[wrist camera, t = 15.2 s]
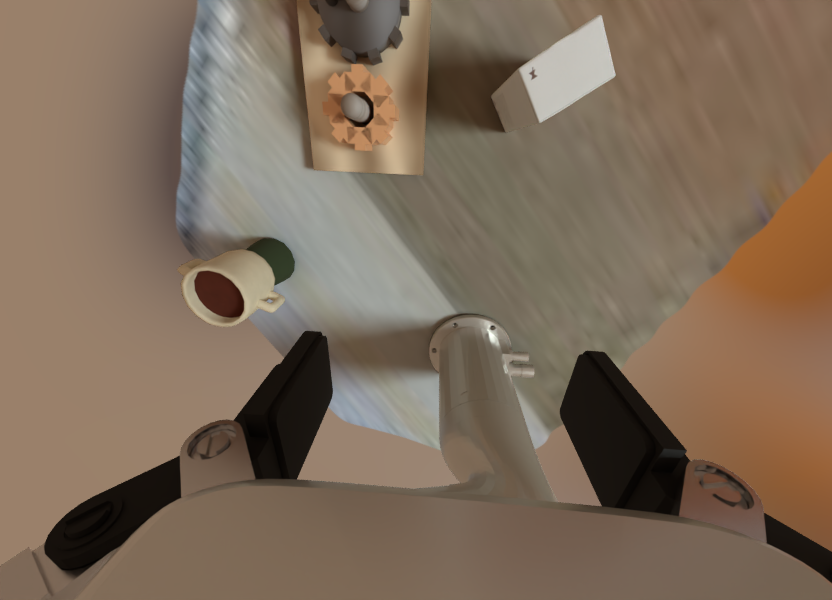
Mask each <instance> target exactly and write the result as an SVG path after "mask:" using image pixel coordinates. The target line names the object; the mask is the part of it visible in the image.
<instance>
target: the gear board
mask: <svg viewBox="0 0 832 600" xmlns="http://www.w3.org/2000/svg"><path fill="white" fill-rule="evenodd" d="M431 2H432V0H296V4H297V13H298V23H299V33H300V42H301V52H302V61H303V71H304V81H305V90H306V100H307V110H308V119H309V129H310V138H311V148H312V158H313V167H314V170H324V171H345V172H366V173H387V174H408V175H423V173H424V151H425V130H426V109H427V87H428V66H429V44H430V23H431ZM351 64H363V65H364V66H365V67H366V69H367V70H368V71H369V72H370V73H371V74H372V75H373V76H374V78H375V79H376V78H377V77H378V76H379V75H380V74H381V76H382V77H383V78H384V80H385V81H386V82H387V83H388V85H389V86H390V87H391V89H392V90H393V92H392V93H391V94H390V95H389V96H390V97H391V99H392V100H393V101H394V105H396V106H397V107H398V109H399V121H394V128H393V129H392V130H391V132H390V133H389V134H390V135H391V136H392V137H393V138H392V139H391V140H390V141H389V142H388V143H387V144H386V145H382V144H379V145H372V151H361V150H355V144H349V143H341V142H339V141H338V140H337V139H336V138H335V137H334V136H333V135H332V134H331V133H332V132H333V130H334V129H335V128H334V127H333V126H332V125H331V124H330V119H329V116H326V115H323V105H322V102H328V92H329V91H330V90H331V88H332V87H331V85H330V84H329V83H328V80H329V79H330V78H331V76H332V75H333V74H334V73H337V74H338V75H339V76H340V77H341V75H342V74H343V73H344V72H352V71H351ZM341 110H342V112H343V114H344V115H345V116H346V117H348V118H350V119H352V120H354V122H355V123H356V124H357V125H358V126H359V127H366V126H367V125H368V124H369V123H370V122H371V120H372V119H373V118H374V103H373V101H372V100H371V99H370V98H368V97H359V96H358V95H356V94H354V93H347V94H345V95H344V96H343V97H342V100H341Z"/></svg>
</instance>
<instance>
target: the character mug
mask: <svg viewBox="0 0 832 600" xmlns="http://www.w3.org/2000/svg"><path fill="white" fill-rule="evenodd" d="M294 263H295V261H294V258H293V256H292V253H291V251H290V250H289V249H288V248H287V246H286V245H285V244H284V243H282V242H280V241H278V240H276V239H262V240H260V241H258V242H256V243H254V244H253V245H251V246H250V247H249V248H247V249H246V250H244V249H240V250H233V251H227V252H225V253H223V254H221V255H219V256H217V257H215V258H213V259H210V260H208V261H204V260H201V259H194V260H191V261H189V262H187V263H185V264H182V265H181V266H180V267H179V268H178V269H177V270H178V272H179V273H180V274H182V275H184V277H183V279H182V282H181V290H182V296H183V298H184V300H185V302H186V304H187V306H188V307H189V308H190V309H191V311H192V312H193V313H194V314H195V315H196V316H197V317H199V318H200V319H202V320H203V321H205V322H207V323H208V324H211V325H214V326H219V327H230V326H235V325H236V324H238V323H240V322H241V321H243V320H245V319H246V318H248V317H249V316H250V315H251V314H253V313H254V312H255V311H256V310H257V309H258V308H260V309H262V310H264V311H267V312H270V313H272V312H275V311H276V310H277V309H278V308H279V307H280V306H281V305H282V304H283V303H284V302H285V298H284V297H283V296H282V295H280V294H278V293H275V292H273V290H274V286H275V285H277V284H279V283H281V282H283V281H284V280H286V279H288V278H289V277H290V276H291V275H292V273H293V271H294ZM268 299H271V300H273V302H272V303H268V302H266V301H267V300H268Z"/></svg>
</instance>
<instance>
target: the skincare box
mask: <svg viewBox="0 0 832 600" xmlns="http://www.w3.org/2000/svg"><path fill="white" fill-rule="evenodd" d="M614 77H615V71H614V67H613V63H612V58H611V54H610V50H609V46H608V41H607V37H606V33H605V29H604V24H603V20H602V16H601V15H598V16H596V17H594V18H593V19H591V20H590V21H588V22H587V23H585V24H584V25H582V26H581V27H579V28H578V29H576V30H575V31H573V32H572V33H570V34H569V35H567V36H566V37H564V38H562V39H561V40H559V41H557V42H556V43H555V44H553V45H552V46H551V47H549V48H547V49H546V50H544V51H543V52H541V53H540V54H539V55H537V56H536V57H534V58H533V59H531V60H530V61H528V62H527V63H525V64H524V65H523V66H521V67H520V68H518V69H517V70H516V71H515V72H514V73H513V74H512V75H511V76H510V77H509V78H508V79H507V80H506V81H505V82H504V83H503V84H502V85H501V86H500V87H499V88H498V89H497V90H496V91H495V92H494V93H493V94H492V95H491V98H492V100H493V103H494V105H495V108H496V111H497V113H498V115H499V118H500V120H501V123H502V125H503V127H504V130H505V132H506V133H507V132H511V131H514V130H518V129H521V128H525V127H528V126H532V125H535V124H539V123H541V122H543V121H544V120H546V119H548V118H550V117H551V116H553V115H555V114H556V113H558V112H560V111H561V110H563V109H565V108H566V107H568V106H569V105H571V104H572V103H574V102H575V101H577V100H578V99H580V98H582V97H583V96H585V95H586V94H588V93H590V92H591V91H593V90H594V89H596V88H598V87H599V86H601V85H602V84H604V83H606V82H607V81H609V80H610V79H612V78H614Z"/></svg>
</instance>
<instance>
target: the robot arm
mask: <svg viewBox="0 0 832 600" xmlns="http://www.w3.org/2000/svg"><path fill="white" fill-rule="evenodd" d="M492 325H493V326H492ZM429 356H430V361H431V363H432V365H433V367H434V368H435V369H436V371H437V372H438V373H439V440H440V448H441V452H442V455H443V457H444V460H445V462H446V464H447V466H448V467H449V469H450V470H451V472H452V473H453V474H454V476H455V477H456V479H457V480H458V481H459V482H460V483H459V484H452V485H449V486H439V487H428V488H417V489H410V488H399V487H387V486H376V485H364V484H352V483H340V482H325V481H311V480H297V478H298V475H299V473H300V471H301V468H302V466H303V464H304V461H305V459H306V457H307V454H308V452H309V450H310V448H311V445H312V443H313V441H314V438H315V436H316V434H317V431H318V429H319V427H320V424H321V422H322V420H323V417H324V415H325V413H326V411H327V408H328V406H329V404H330V401H331V399H332V394H333V388H332V379H331V370H330V361H329V352H328V343H327V337H326V336H323V335H322V333H321V332H315V331H305V332H304V333H303V334H302V335H301V337H300V338H299V339H298V341H297V342H296V343H295V345H294V346H293V347H292V349H291V350H290V351H289V353H288V354H287V355H286V357H285V358H284V359H283V361H282V362H281V364H278V365H276V366H275V367H274V368H273V370H272V371H271V372H270V373H269V375H268V376H267V377H266V379H265V380H264V381H263V383H262V384H261V385H260V387H259V388H258V389H257V390H256V392H255V393H254V395H253V396H252V397H251V398H250V400H249V401H248V402H247V404H246V405H245V406H244V407H243V409H242V410H241V411H240V413H239V414H238V415H237V417H236V418H235V419H234V420H219V421H215V422H212V423H209V424H207V425H205V426H203V427H201V428H200V429H198V430H197V431H195V432H194V433H193V434H191V435H190V436H189V437H188V438H187V440H186V441H185V442H184V444H183V446H182V447H181V451H180V456H178V457H176V458H174V459H172V460H170V461H168V462H166V463H164V464H161V465H159V466H157V467H155V468H153V469H151V470H149V471H147V472H144V473H142V474H140V475H138V476H136V477H134V478H132V479H130V480H128V481H125V482H123V483H121V484H119V485H117V486H115V487H113V488H111V489H108V490H106V491H104V492H102V493H100V494H98V495H96V496H94V497H92V498H90V499H88V500H87V501H85V502H83V503H81V504H80V505H78V506H77V507H75V508H74V509H73V510H71V511H70V512H69V513H67V514H66V515H65V516H64V517H63V518H62V519H61V520H60V521H59V522H58V523H57V524H56V525H55V527H54V528H53V529H52V531H51V532H50V534H49V535H48V537H47V539H46V542H45V543H44V544H43V545H41V546H40V547H38V548H37V549H35V550H34V551H32V550H31V549H30V548H29V547H28V548H27V549H25V550H24V551H22V552H21V553H19V554H18V555H16V556H15V557H13V558H12V559H10V560H8V561H7V562H5V563H4V564H2V565H1V566H0V600H832V552H831V551H829V550H828V549H826V548H824V547H822V546H820V545H819V544H817V543H815V542H814V541H812V540H810V539H809V538H807V537H805V536H803V535H802V534H800V533H798V532H796V531H795V530H793V529H791V528H790V527H788V526H786V525H784V524H783V523H781V522H779V521H777V520H776V519H774V518H772V517H771V516H769V515H767V514H765V513H764V509H763V505H762V502H761V499H760V498H759V496H758V495H757V494H756V492H755V491H754V490H753V489H752V488H751V487H750V486H749V485H748V484H747V483H746V482H745V481H744V480H743V479H741V478H740V477H739V476H737V475H736V474H734V473H733V472H731V471H729V470H728V469H726V468H724V467H722V466H720V465H718V464H715V463H713V462H709V461H705V460H692V461H690V460H689V459H688V458H687V456H686V455H685V453H686V451H687V450H686V449H685V448H684V447H683V445H682V444H681V443H680V442H679V441H678V439H677V438H676V437H675V436H674V435H673V434H672V432H671V431H670V430H669V429H668V428H667V426H666V425H665V424H664V423H663V421H662V420H661V419H660V418H659V417H658V415H657V414H656V413H655V412H654V411H653V410H652V408H651V407H650V406H649V405H648V404H647V402H646V401H645V400H644V399H643V398H642V396H641V395H640V394H639V393H638V392H637V390H636V389H635V388H634V387H633V386H632V384H631V383H630V382H629V381H628V380H627V378H626V377H625V376H624V375H623V374H622V373H621V371H620V370H619V369H618V368H617V366H616V365H615V364H614V363H613V362H612V360H611V359H610V358H609V357H608V356H607V354H605V353H604V352H598V351H585V352H584V353H583V354H581V355H579V356H578V359H577V362H576V364H575V367H574V370H573V373H572V376H571V379H570V382H569V385H568V387H567V390H566V393H565V396H564V399H563V402H562V405H561V408H560V416H561V419H562V421H563V423H564V426H565V428H566V430H567V432H568V434H569V436H570V439H571V441H572V443H573V445H574V447H575V449H576V451H577V454H578V456H579V458H580V460H581V462H582V464H583V467H584V469H585V471H586V473H587V475H588V477H589V479H590V482H591V484H592V486H593V488H594V490H595V492H596V495H597V496H598V499H599V501H600V503H601V505H602V506H591V505H581V504H570V503H561V502H558V501H557V499H556V497H555V495H554V493H553V491H552V489H551V487H550V485H549V483H548V481H547V479H546V476H545V474H544V472H543V470H542V467H541V465H540V462H539V460H538V457H537V455H536V452H535V449H534V446H533V443H532V440H531V437H530V434H529V431H528V428H527V425H526V422H525V419H524V416H523V413H522V410H521V407H520V404H519V400H518V397H517V394H516V391H515V388H514V385H513V382H512V379H511V377H512V376H520V377H528V378H533V376H534V366H533V365H528V364H512V360H515V361H523V362H528V360H529V354H528V352H512V347H511V342H510V339H509V336H508V334H507V333H506V331H505V329H504V328H503V327H502V326H501V325H500V324H499V323H497V322H496V321H494V320H492V319H490V318H488V317H485V316H481V315H471V314H470V315H461V316H458V317H454V318H452V319H450V320H448V321H446V322H445V323H443V324H442V325H441V326H440V327H439V328H438V329H437V330H436V331H435V332H434V334H433V336H432V338H431V341H430V346H429Z"/></svg>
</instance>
